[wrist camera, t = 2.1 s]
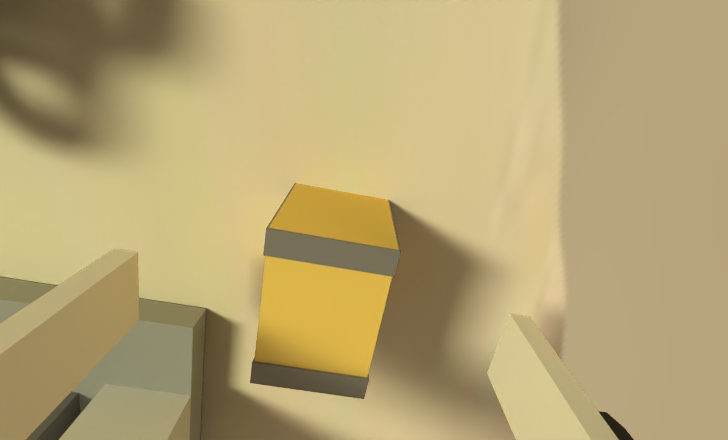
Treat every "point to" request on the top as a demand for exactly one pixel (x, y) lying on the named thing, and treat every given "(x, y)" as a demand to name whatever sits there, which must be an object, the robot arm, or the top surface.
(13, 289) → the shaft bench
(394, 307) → the top surface
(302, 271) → the box
